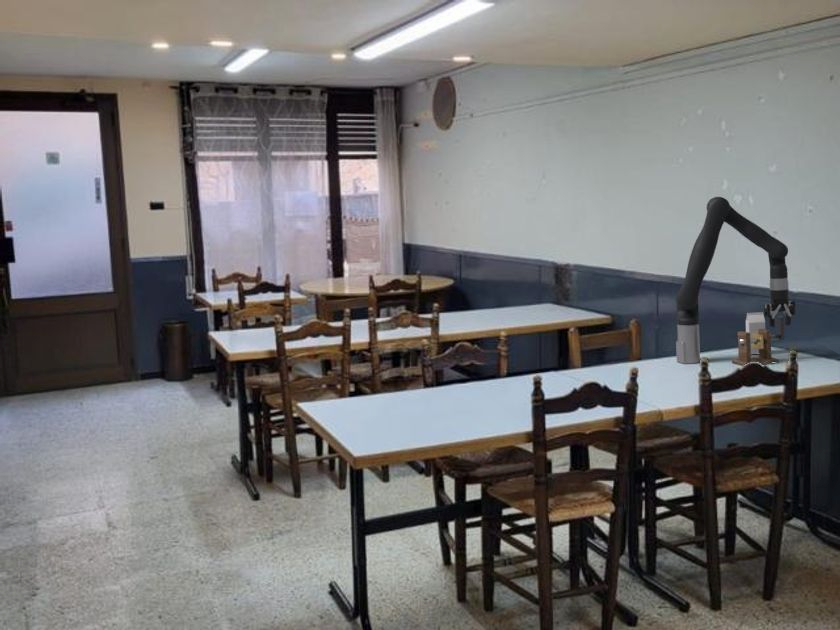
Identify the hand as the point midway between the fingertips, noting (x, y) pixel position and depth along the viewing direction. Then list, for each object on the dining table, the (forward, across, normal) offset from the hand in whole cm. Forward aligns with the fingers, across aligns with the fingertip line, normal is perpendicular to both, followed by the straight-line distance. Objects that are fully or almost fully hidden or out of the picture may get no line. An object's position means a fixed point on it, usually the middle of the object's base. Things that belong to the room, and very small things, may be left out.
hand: (780, 325), depth 366 cm
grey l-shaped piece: (+6, -9, 0) cm, 11 cm away
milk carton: (+15, 0, +18) cm, 24 cm away
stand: (+15, -13, 0) cm, 20 cm away
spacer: (+8, -11, 0) cm, 14 cm away
